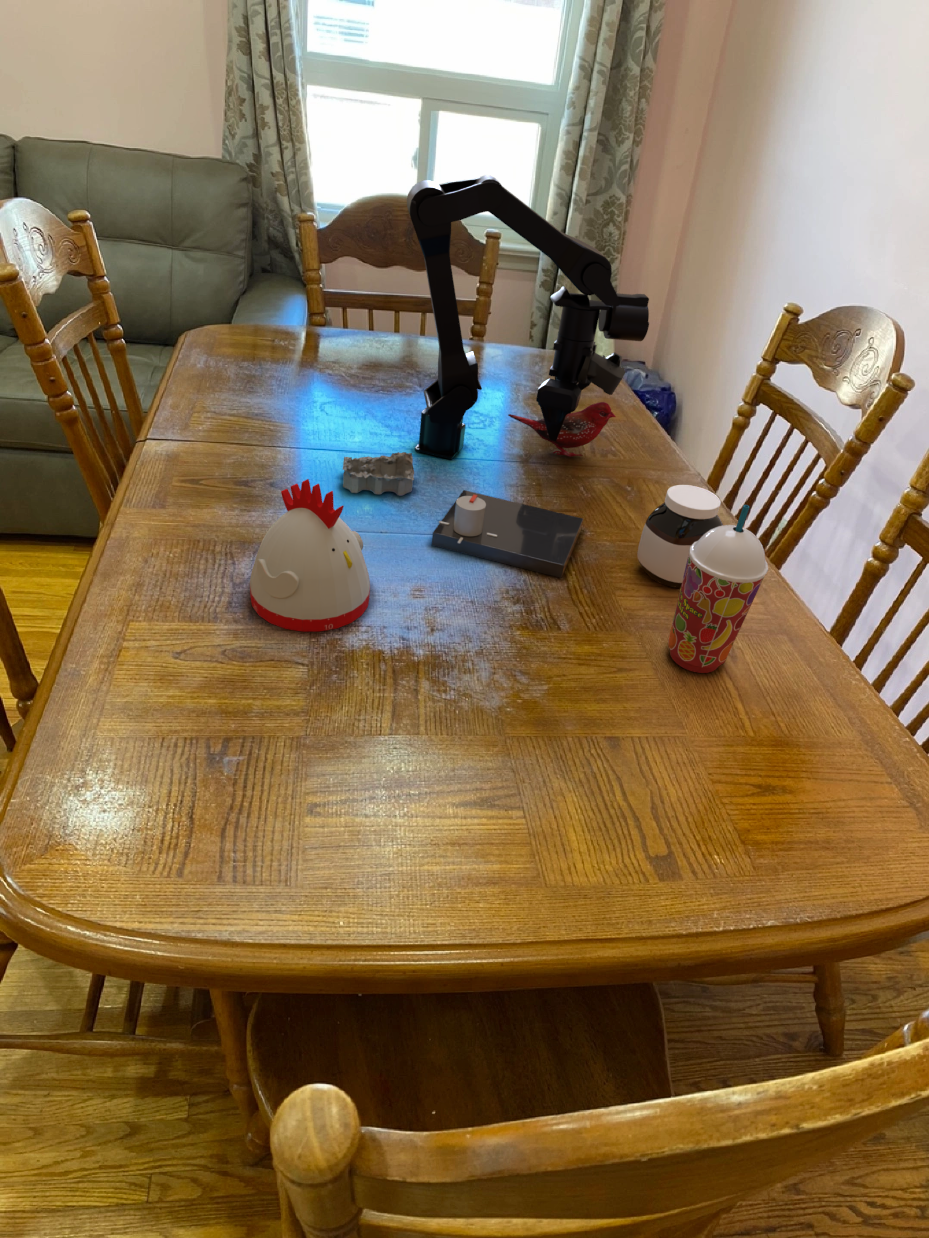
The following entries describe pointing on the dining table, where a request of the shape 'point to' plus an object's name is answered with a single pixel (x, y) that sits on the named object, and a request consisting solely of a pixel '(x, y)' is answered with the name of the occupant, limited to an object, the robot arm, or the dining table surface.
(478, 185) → the robot arm
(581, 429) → the decorative bird figurine
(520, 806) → the dining table surface
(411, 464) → the egg carton
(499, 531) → the stove
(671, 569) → the spread jar
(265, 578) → the kitchen timer
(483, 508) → the stove knob
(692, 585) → the smoothie
